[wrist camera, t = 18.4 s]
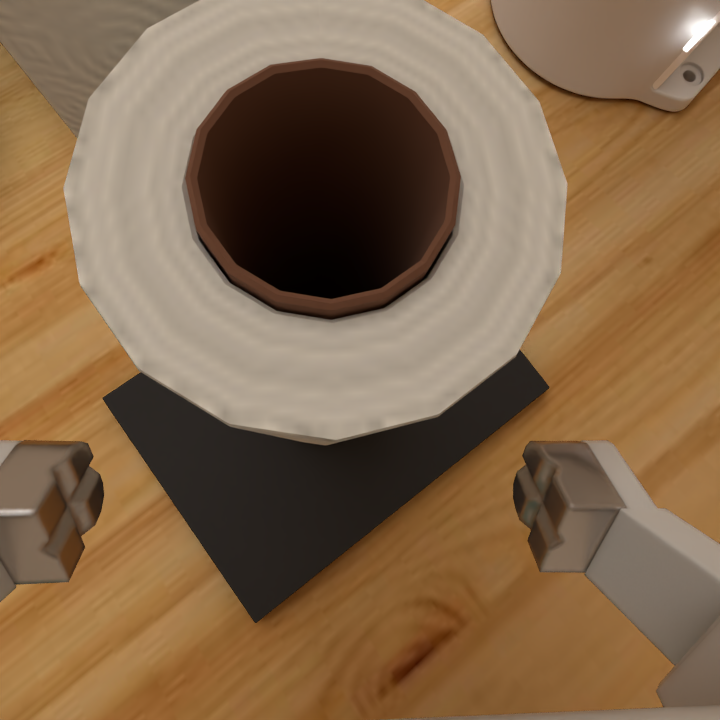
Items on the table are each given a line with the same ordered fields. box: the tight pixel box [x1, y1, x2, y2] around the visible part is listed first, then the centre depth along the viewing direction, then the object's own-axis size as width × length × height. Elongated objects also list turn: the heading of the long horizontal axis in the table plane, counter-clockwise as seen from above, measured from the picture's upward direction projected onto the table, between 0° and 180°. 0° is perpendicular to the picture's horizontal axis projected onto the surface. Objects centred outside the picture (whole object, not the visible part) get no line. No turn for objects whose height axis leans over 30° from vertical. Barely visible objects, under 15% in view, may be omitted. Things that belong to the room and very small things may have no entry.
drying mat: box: [103, 350, 549, 623], centre depth 27 cm, size 20×14×1 cm
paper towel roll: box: [0, 0, 567, 445], centre depth 16 cm, size 7×6×21 cm
